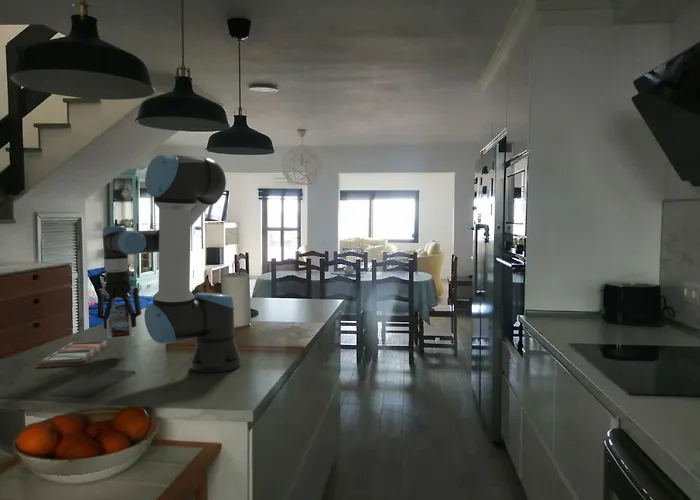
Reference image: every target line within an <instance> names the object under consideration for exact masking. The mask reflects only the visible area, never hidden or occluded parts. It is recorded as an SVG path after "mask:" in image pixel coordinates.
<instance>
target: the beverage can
mask: <svg viewBox="0 0 700 500" xmlns="http://www.w3.org/2000/svg"><path fill="white" fill-rule="evenodd" d="M129 318H130V314H129V312H128V310H127V307H126V305H125V303H124V304H123V303H122V304H116V305H115V304H113V305H112V306H111V308H110V315H109V319H110V322H111V337H112V338H111V339H113V340H117V339H126V338H129V320H128V319H129Z"/></svg>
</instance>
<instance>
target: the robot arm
mask: <svg viewBox="0 0 700 500" xmlns="http://www.w3.org/2000/svg"><path fill="white" fill-rule="evenodd" d="M144 180H145V181H144V183H145V184H144V186H145V188H146V192H147V194H148V195H149V196H151V197H153V203H154V204H155V205H156V207H158V211H159V213H158V214H159V215H158V217H159V219H158V220H159V221H158V222H159V223H158V226H159V227H158V229H157V230H155V229H154V230H127V227H126V226H125V225H111V226H104V227H103V228H102V242H103V257H104V259H103V261H104V271H106V272H104V273H105V275H104V278H105V286H104V287H103V288H98V289H97V290H96V294H97V312H96V313H97V315H96V316H97V318H98V319H102V320H103V328H104V329H105V330H106V334H107V337H106V338H107V339H108V340H111V339H113V338H112V337H111V322H110V308H111V306H112V305H114V301H115V299H122V301H123V303H124V304H125V305H126V307H127V310H128V312H129V319H128V320H129V336H128V338H133V337H134V336H135V332H134V328H135V327H137V317H140V316H141V315H142V308H141V303H140V296H139V295H140V294H139V292H140V287H139V286H132V285H131V282H130V271H128V270H129V255H137V254H147V253H148V254H150V253H158V291H156V293H155V294H153V296H152V304H151V303H150V304H149V305H147V306H146V308H145V310H144V323H145V327H146V330H147V333H148V334H149V335H150V338H151V339H152V340H153V341H154V342H156V343H157V344H161V345H162V344H169V343H171V344H173V343H174V344H175V343H176V342H180V341H185V340H190V339H194V338H196V339H195V340H196V341H195V342H196V343H195V347H194V351H193V354H192V358H191V362H190V365H191V366H190V367H191V370H192V371H193V372H197V373H205V374H206V373H207V374H209V373H210V374H211V373H213V374H214V373H215V374H216V373H222V372H228V371H232V370H234V369H237V368H239V367H240V366H241V364H242V359H241V355H240V352H239V349H238V346H237V344H236V340H235V319H234V317H235V316H234V313H235V311H234V310H235V308H234V299H233V297H232V296H231V295H229V294H227V293H226V294H224V293H219V292H218V293H214V292H197V293H195V294H194V293H192V291H191V290H190V288H191V287H190V283H191V282H190V281H191V280H190V279H191V278H190V277H191V276H190V275H191V231H192V230H191V228H192V226H193V225H194V224H195V223H196V222H197V220H199V218H200V217H201V216H202V215H203V213H204V212H205V211H206V210H208V207H210V206H213V205H215V204H216V203H217V202H218V201H219V200H220V199H221V198H222V196H223V195H224V192H225V190H226V185H227V179H226V174H225V172H224V170H223V168H222V166H220V165H219V163H217V162H216V161H215V160H213V159H212V158H208V157H204V156H200V157H199V156H189V155H188V156H187V155H186V156H185V155H179V154H178V155H177V154H159V155H156V156H155V157H153V159H151V161H150V162H149V164H148V166H147V168H146V171H145V179H144ZM130 291H131V293H132V297H133V298H132V299H133V304H134V307H133V305H132V303H131V300H130V297H129V292H130ZM106 293H107V294H108V297H107V298H108V299H107V303H106V307H104V306H105V295H106ZM104 308H105V309H104Z"/></svg>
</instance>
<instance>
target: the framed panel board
mask: <svg viewBox="0 0 700 500" xmlns="http://www.w3.org/2000/svg"><path fill="white" fill-rule="evenodd" d="M108 347H110V342H108V340H98V341H97V340H95V341H79V342H78V341H73V342H72V341H71V342H70V343H68V344H66V345H65V346H63V347H62V348H60V349H58V350H56V351H55V352H53V353H51V354H50V355H49V356H47V357H45V358H43V359H42V360H40V362H38V363H37V368H52V366H53V368H54V366H56V367H73V366H85V365H86V364H88V363H89V362H90V361H91V360H93V359H94V358H95V357H97V356H98V355H100V354H101V353H102V352H103V351H105V350H107V348H108Z"/></svg>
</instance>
